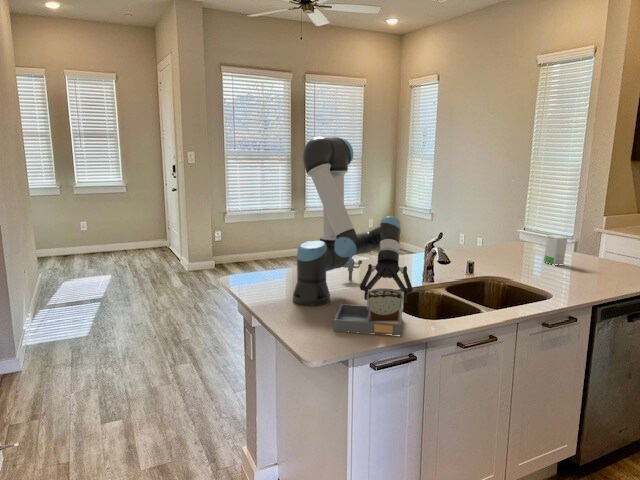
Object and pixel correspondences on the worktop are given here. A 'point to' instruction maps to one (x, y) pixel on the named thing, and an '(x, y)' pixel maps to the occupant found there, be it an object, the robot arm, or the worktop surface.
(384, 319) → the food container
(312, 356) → the worktop surface
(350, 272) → the mechanical component
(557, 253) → the skincare box
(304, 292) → the robot arm
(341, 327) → the organizer
